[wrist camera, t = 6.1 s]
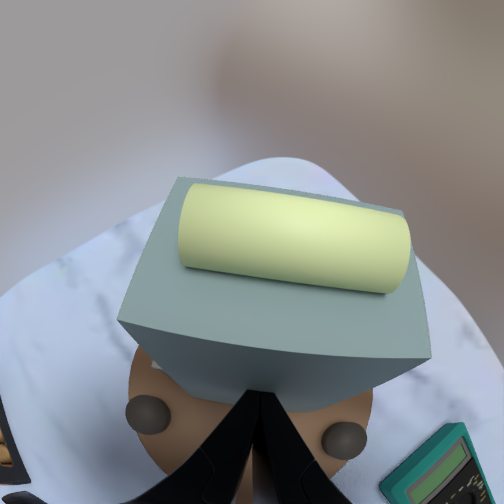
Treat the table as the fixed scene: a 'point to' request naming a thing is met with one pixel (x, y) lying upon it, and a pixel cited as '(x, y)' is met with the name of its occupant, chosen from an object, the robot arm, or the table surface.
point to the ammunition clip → (10, 456)
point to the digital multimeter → (440, 472)
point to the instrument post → (277, 294)
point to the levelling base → (211, 413)
